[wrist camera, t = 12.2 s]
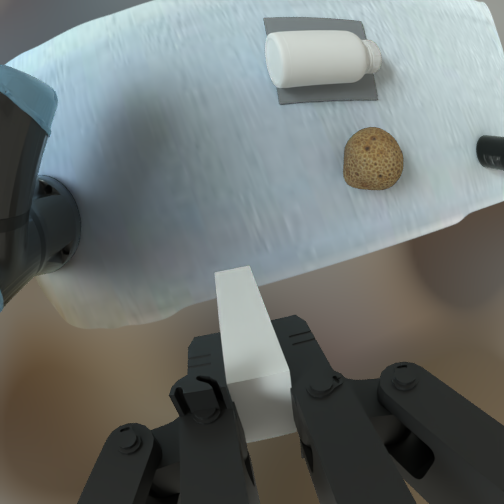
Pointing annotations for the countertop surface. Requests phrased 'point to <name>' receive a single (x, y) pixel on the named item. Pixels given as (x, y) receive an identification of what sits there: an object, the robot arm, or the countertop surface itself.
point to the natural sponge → (372, 160)
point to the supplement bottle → (491, 151)
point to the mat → (324, 92)
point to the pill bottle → (319, 57)
